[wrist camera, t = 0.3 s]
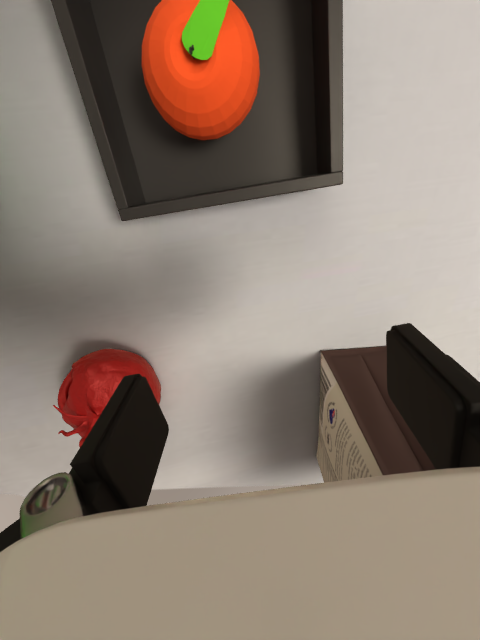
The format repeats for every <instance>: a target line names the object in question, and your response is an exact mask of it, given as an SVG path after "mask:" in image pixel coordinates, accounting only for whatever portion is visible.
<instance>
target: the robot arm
mask: <svg viewBox="0 0 480 640" xmlns="http://www.w3.org/2000/svg"><path fill="white" fill-rule="evenodd" d="M386 346H387V391H388V395H389V397H390V399H391V401H392V402H393V404H394V405H395V407H396V408H397V410H398V411H399V413H400V414H401V416H402V418H403V419H404V421H405V422H406V424H407V425H408V427H409V428H410V430H411V431H412V433H413V434H414V436H415V438H416V439H417V441H418V442H419V444H420V445H421V447H422V448H423V450H424V451H425V453H426V454H427V456H428V458H429V459H430V461H431V462H432V464H433V465H434V467H435V468H436V470H429V471H419V472H410V473H400V474H391V475H383V476H374V477H366V478H358V479H350V480H342V481H334V482H326V483H317V484H309V485H301V486H294V487H286V488H278V489H270V490H263V491H254V492H247V493H239V494H231V495H224V496H216V497H209V498H201V499H194V500H186V501H179V502H172V503H165V504H157V505H149V506H146V505H147V502H148V499H149V495H150V492H151V489H152V485H153V482H154V479H155V476H156V472H157V469H158V466H159V462H160V459H161V456H162V452H163V449H164V446H165V443H166V439H167V436H168V431H169V429H168V424H167V422H166V419H165V417H164V415H163V413H162V411H161V409H160V406H159V404H158V402H157V400H156V398H155V396H154V394H153V391H152V389H151V387H150V385H149V383H148V381H147V379H146V377H145V376H142V375H140V374H133V375H128V376H124V377H123V379H122V380H121V382H120V384H119V385H118V387H117V388H116V390H115V392H114V393H113V395H112V397H111V398H110V400H109V401H108V403H107V405H106V406H105V408H104V410H103V411H102V413H101V415H100V416H99V418H98V419H97V421H96V423H95V424H94V426H93V428H92V429H91V431H90V433H89V434H88V436H87V437H86V439H85V441H84V442H83V444H82V446H81V447H80V449H79V450H78V452H77V454H76V455H75V457H74V459H73V460H72V462H71V464H70V465H71V466H72V469H71V471H70V473H69V474H68V473H66V472H64V473H57V474H54V475H52V476H50V477H48V478H46V479H45V480H43V481H42V482H41V483H39V484H38V485H37V486H36V487H35V488H34V489H33V490H32V491H31V492H30V493H29V494H28V495H27V497H26V498H25V499H24V501H23V503H22V505H21V508H20V519H19V520H17V521H16V522H14V523H13V524H12V525H10V526H9V527H8V528H6V529H5V530H4V531H2V532H1V533H0V640H480V382H479V381H477V380H476V379H475V378H474V377H473V376H472V375H471V374H470V373H468V372H467V371H466V370H465V369H464V368H463V367H462V366H460V365H459V364H458V363H457V362H456V361H455V360H454V359H453V358H451V357H450V356H448V355H445V354H444V353H443V352H442V351H441V350H440V349H439V348H437V347H436V346H435V345H434V344H433V343H432V342H431V341H430V340H429V339H427V338H426V337H425V336H424V335H423V334H422V333H421V332H420V331H418V330H417V329H416V328H415V327H414V326H413V325H412V324H410V323H407V324H402V325H396V326H392V328H391V331H387V334H386Z"/></svg>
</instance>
